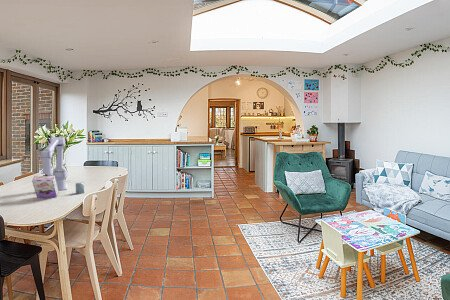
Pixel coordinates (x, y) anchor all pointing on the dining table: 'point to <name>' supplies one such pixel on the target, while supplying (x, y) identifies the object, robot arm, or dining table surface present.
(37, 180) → the candy box
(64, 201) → the dining table surface
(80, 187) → the rounded blue cylinder
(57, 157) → the robot arm
